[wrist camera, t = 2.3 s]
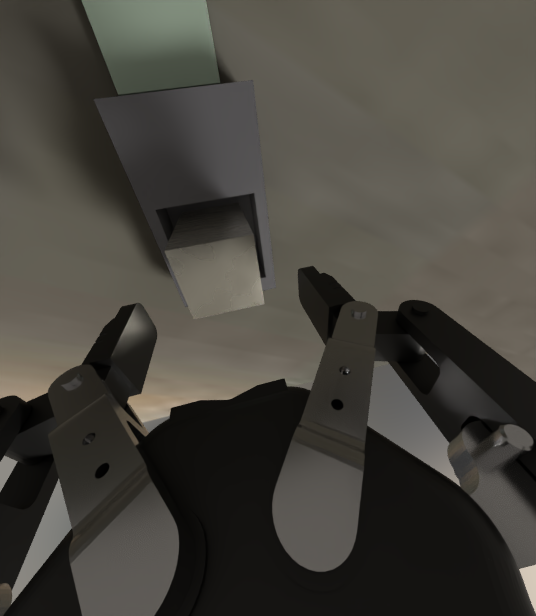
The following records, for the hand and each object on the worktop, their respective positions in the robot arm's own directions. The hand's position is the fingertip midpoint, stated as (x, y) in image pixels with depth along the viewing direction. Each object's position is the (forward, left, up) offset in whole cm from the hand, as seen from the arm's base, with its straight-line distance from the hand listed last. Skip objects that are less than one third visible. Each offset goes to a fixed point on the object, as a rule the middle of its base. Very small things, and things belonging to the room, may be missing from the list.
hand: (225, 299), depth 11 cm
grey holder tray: (-2, 0, -10) cm, 10 cm away
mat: (-12, -1, -10) cm, 16 cm away
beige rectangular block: (0, 0, -10) cm, 10 cm away
